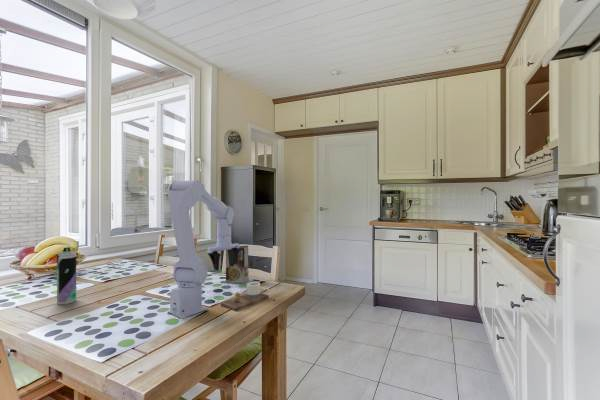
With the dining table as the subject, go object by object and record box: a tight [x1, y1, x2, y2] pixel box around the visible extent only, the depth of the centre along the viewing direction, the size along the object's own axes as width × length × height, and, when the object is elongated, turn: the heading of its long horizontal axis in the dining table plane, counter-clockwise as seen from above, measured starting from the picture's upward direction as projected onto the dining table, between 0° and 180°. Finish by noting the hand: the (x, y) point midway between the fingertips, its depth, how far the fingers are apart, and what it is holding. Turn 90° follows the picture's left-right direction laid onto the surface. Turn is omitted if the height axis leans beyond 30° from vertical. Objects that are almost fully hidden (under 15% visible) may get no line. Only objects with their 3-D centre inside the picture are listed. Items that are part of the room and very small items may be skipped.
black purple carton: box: [56, 247, 77, 305], centre depth 102 cm, size 6×6×20 cm
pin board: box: [220, 292, 270, 312], centre depth 102 cm, size 16×8×4 cm, turn 143°
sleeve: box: [246, 281, 261, 298], centre depth 106 cm, size 5×5×4 cm
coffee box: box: [225, 245, 249, 284], centre depth 128 cm, size 9×6×16 cm
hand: (224, 267), depth 115 cm, fingers open, 7 cm apart
